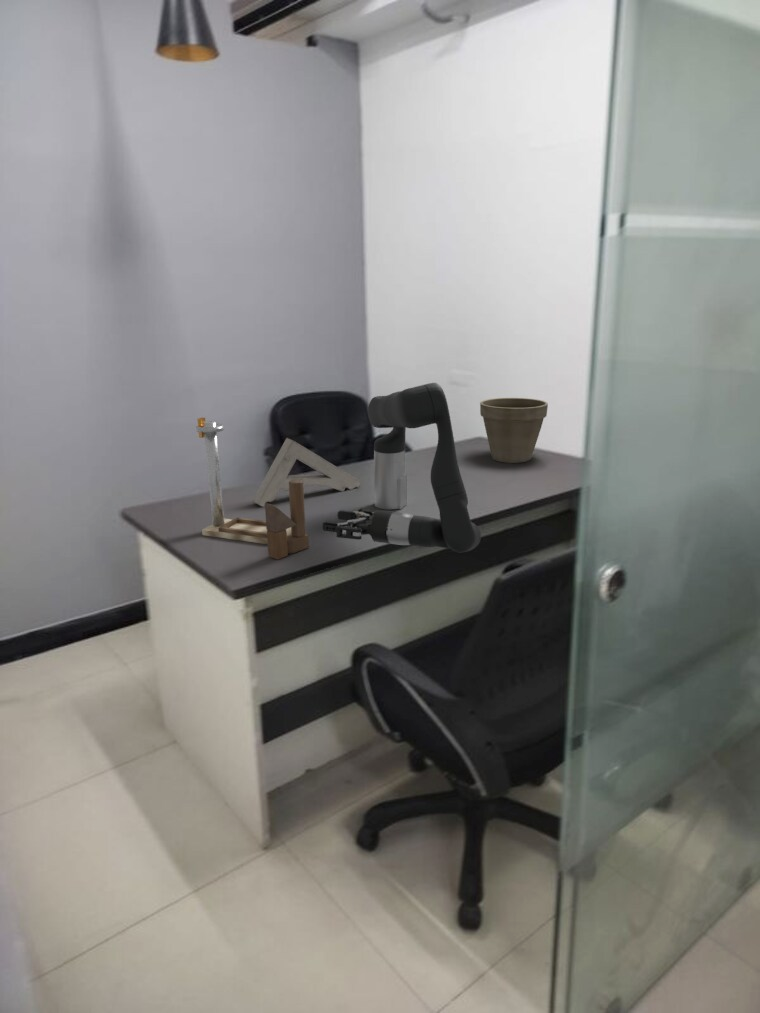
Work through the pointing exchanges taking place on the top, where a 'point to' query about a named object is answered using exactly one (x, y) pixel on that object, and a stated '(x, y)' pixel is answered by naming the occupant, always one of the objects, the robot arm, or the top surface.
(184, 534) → the top surface
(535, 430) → the plant pot
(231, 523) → the seat board
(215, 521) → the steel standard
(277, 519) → the wooden block
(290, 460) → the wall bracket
